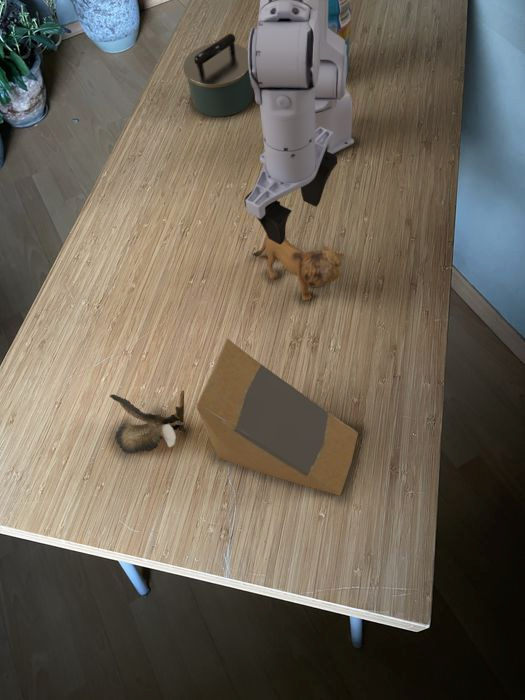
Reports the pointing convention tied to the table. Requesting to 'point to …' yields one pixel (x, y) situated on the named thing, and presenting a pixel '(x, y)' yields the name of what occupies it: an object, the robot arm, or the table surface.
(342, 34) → the beverage bottle
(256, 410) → the sandwich container
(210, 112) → the green lidded pot
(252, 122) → the table surface
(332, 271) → the lion figurine
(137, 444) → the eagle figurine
